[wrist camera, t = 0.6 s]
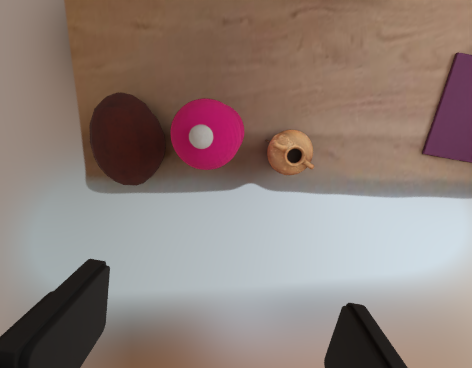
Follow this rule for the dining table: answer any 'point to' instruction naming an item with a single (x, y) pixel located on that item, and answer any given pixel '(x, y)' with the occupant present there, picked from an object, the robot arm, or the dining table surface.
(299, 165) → the pot
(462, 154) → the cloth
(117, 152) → the dark brown egg
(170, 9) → the dining table surface
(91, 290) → the robot arm
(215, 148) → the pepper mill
